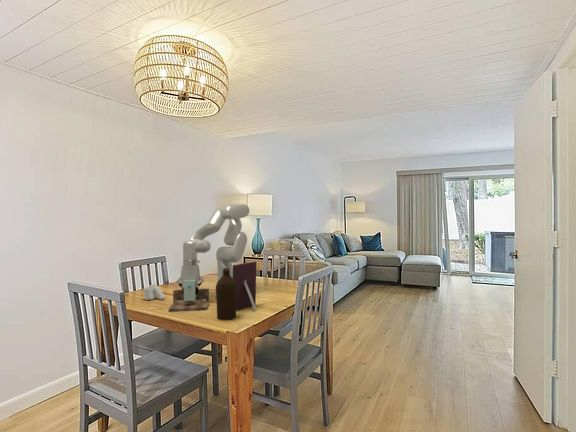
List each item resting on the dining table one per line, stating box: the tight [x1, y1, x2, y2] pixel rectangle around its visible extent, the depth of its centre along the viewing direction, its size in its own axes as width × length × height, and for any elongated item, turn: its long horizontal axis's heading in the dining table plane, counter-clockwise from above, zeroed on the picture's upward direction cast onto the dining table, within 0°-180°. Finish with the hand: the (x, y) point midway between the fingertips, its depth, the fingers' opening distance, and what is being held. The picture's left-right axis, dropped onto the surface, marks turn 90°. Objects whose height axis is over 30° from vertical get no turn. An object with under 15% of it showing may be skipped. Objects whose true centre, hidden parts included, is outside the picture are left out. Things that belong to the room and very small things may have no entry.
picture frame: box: [232, 261, 258, 312], centre depth 176 cm, size 17×10×25 cm, turn 141°
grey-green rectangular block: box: [184, 280, 197, 301], centre depth 182 cm, size 6×9×11 cm
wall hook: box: [143, 284, 166, 301], centre depth 198 cm, size 8×10×10 cm
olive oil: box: [215, 267, 237, 321], centre depth 163 cm, size 11×11×25 cm
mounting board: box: [168, 288, 210, 313], centre depth 180 cm, size 20×14×8 cm
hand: (190, 294), depth 182 cm, fingers closed on grey-green rectangular block, 6 cm apart
